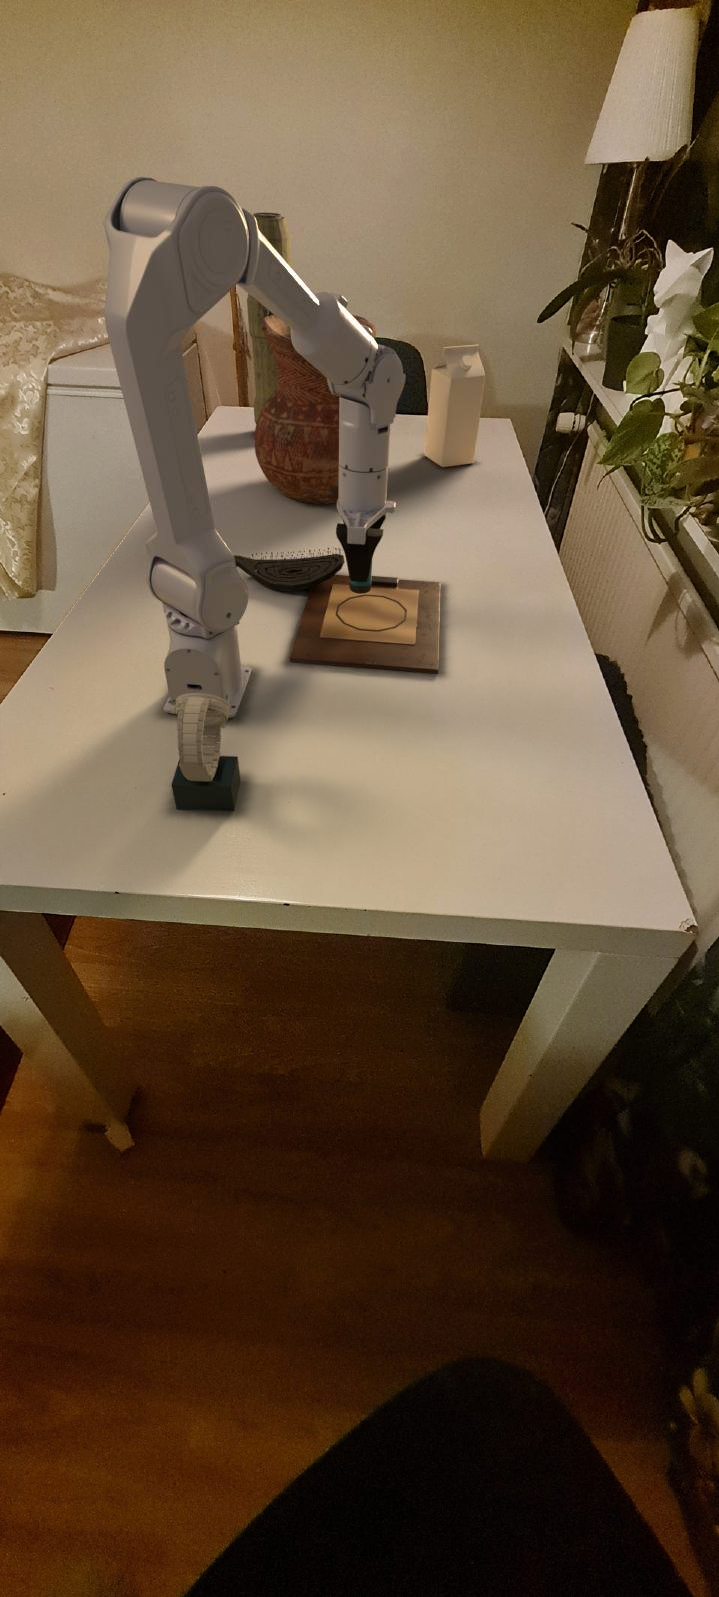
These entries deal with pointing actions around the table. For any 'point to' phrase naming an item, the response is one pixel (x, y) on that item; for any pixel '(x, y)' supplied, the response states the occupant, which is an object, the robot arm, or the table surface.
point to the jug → (299, 423)
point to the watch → (203, 755)
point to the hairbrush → (292, 570)
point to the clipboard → (371, 625)
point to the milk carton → (455, 406)
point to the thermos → (266, 312)
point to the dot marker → (362, 584)
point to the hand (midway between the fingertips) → (360, 574)
